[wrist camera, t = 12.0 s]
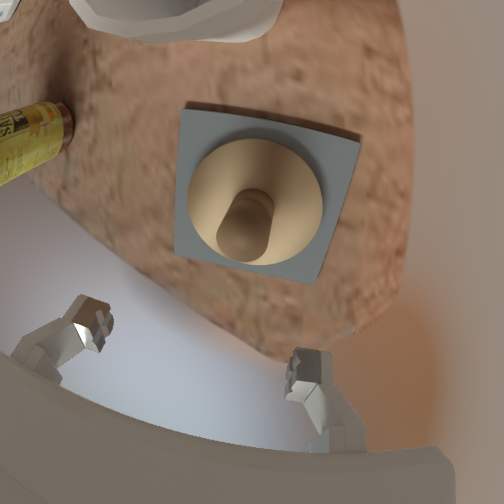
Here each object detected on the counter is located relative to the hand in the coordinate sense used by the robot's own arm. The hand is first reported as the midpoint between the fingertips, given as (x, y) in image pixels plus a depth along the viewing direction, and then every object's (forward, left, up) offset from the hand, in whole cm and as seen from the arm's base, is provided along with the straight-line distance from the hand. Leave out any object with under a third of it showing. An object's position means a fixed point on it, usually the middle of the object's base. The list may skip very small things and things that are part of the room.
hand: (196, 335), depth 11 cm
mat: (+1, 0, -15) cm, 15 cm away
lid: (0, 0, -14) cm, 14 cm away
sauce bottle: (-21, +5, -15) cm, 27 cm away
